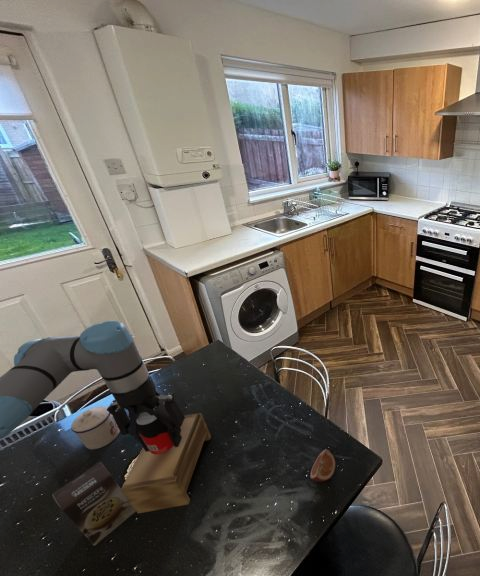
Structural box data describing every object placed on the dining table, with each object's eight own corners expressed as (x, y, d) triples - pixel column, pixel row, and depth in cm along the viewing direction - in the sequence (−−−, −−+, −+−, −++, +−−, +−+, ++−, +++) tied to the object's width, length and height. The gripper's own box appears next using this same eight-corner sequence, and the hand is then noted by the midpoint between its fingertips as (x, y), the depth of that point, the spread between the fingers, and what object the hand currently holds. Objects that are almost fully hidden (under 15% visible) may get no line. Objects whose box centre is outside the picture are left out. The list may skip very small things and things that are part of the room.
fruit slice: (318, 456, 93) (316, 446, 90) (339, 460, 92) (338, 450, 89) (306, 485, 86) (304, 474, 83) (330, 490, 85) (328, 479, 82)
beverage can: (169, 456, 80) (152, 426, 74) (145, 456, 80) (126, 426, 74) (183, 435, 86) (169, 405, 80) (160, 434, 86) (144, 404, 80)
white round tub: (123, 438, 97) (107, 413, 92) (85, 456, 92) (66, 431, 86) (118, 414, 105) (103, 389, 100) (83, 430, 100) (65, 405, 94)
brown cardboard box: (94, 547, 73) (60, 511, 65) (83, 530, 76) (49, 494, 68) (137, 510, 80) (111, 474, 72) (126, 496, 83) (99, 460, 75)
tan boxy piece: (137, 513, 79) (118, 487, 73) (169, 442, 96) (156, 416, 90) (188, 504, 81) (173, 477, 75) (211, 436, 98) (200, 410, 92)
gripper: (182, 365, 76) (207, 426, 88) (93, 375, 73) (131, 437, 84) (169, 388, 70) (198, 451, 81) (71, 401, 67) (115, 464, 78)
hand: (164, 444), depth 83 cm, fingers closed on beverage can, 6 cm apart
